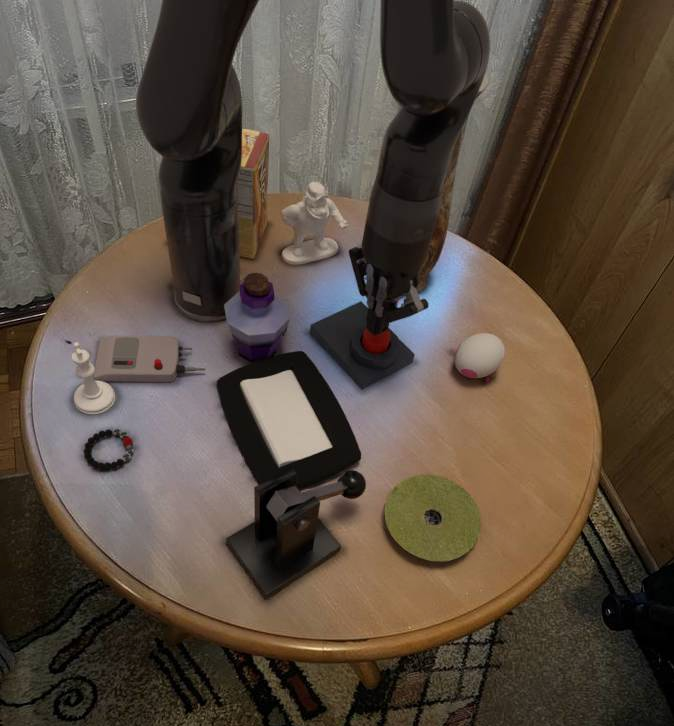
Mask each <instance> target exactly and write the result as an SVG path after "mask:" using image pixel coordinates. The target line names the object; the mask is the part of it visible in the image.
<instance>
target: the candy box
mask: <svg viewBox="0 0 674 726" xmlns="http://www.w3.org/2000/svg"><path fill="white" fill-rule="evenodd" d="M269 159H270V134H269V133H266V132H262V131H258V130H253V129H248V128H242V160H241V168H240V173H239V178H238V184H237V192H238V193H237V196H238V224H239V253H240V257H242V258H245V259H251V260H254V259H255V257H256V254H257V251H258V249H259V247H260V244H261V241H262V240H263V239H262V238H263V236H264V233H265V230H266V228H267V226H268V198H269V197H268V195H269V194H268V193H269V164H270V163H269V161H270V160H269Z"/></svg>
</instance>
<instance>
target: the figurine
mask: <svg viewBox="0 0 674 726" xmlns="http://www.w3.org/2000/svg"><path fill="white" fill-rule="evenodd" d="M329 197H330V195H329V194H328V191H327V190H326V188H325V187H324V185H323V184H322V183H320V182H318V181H311V182H309V184H308V186H307V190H306V191H305V195H303V196H302V199H301V201H299V202H296V204H293V203H292V204H290V205H288V206H287V207H285V208H283V209H282V210H281V212H280V216H281V220H282V222H283V223H284V225H286V226H289V227H291V228H292V230H293V231H292V232H293V234H294V235H293V242H292V244H291V245H288V246H286V247H285V248H284V249H283V250H282V252H281V258H282V260H283V262H285V263H286V264H288V265H294V266H298V265H299V266H300V265H304V264H309V263H312V262H317V261H320V260H324V259H327V258H331V257H333V256H335V255H336V254H337V253H338V250H339V245H338V243H337V242H336V241H335V240H334V239H333V238H329V237H325V236H326V235H325V228H326V225H327V223H328V218H329V217H330V218H331V219H332V221H333V222H334V223H335V224H336V225H338V227H339V228H340V229H341V230H346V229H347V228H348V227H349V224H348V221H347V220H346V219H344V217H343V215H342V214H341V211H340V210H339V209H338V207H337V205H336V204H335V202H334V201H333V200H332V199H330V198H329ZM307 236H313V239H310V240H305V241H304V239H305V237H307Z"/></svg>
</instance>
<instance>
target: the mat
mask: <svg viewBox="0 0 674 726" xmlns="http://www.w3.org/2000/svg"><path fill="white" fill-rule="evenodd" d="M481 517H482V516H481V514H480V510H479V506H478V505H477V503H476V501H475V500H474V498H473V497H472V496H471V494H470V493H469V492H468V491H466V489H465V488H464V487H462V486H461V485H460V484H458V483H457V482H456V481H453V480H451V479H450V478H449V479H448V478H447V477H444V476H440V475H436V474H428V473H427V474H418V475H414V476H410V477H407V478H405V479H403V480H401V481H400V482H399V483H397V484H396V485H395V486H394V487H393V488H392V489H391V491H390V493H389V494H388V496H387V498H386V502H385V507H384V520H385V524H386V527H387V529H388V531H389V533H390V535H391V537H392V538H393V539H394V541H395V542H396V543H397V544H398V545H399V546H401V547H402V549H403V550H405V552H406V551H407V552H408V553H409V554H410V555H411V554H412V555H413V556H415V557H417V558H420V559H423V560H426V561H430V562H449V561H452V560H456V559H459V558H461V557H463V556H464V555H466V554H467V553H468V552H470V551H471V549H473V548H474V546H475V545H476V543H477V542H478V540H479V537H480V533H481V529H482V518H481Z"/></svg>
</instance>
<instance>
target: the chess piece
mask: <svg viewBox="0 0 674 726" xmlns="http://www.w3.org/2000/svg"><path fill="white" fill-rule="evenodd" d="M73 345H74V348H75V351H73V352H72V354H71V360H72V362H73V363H74V364H75V365H76V367H75V374H76V375H77V376H78V377H80V378H82V380H83V384H81V385H80V386H78V388H77V389H76V390H75V392H74V395H73V403H74V406H75V407H76V409H77V410H78V411H80V412H81V413H83V414H86V415H98V414H103V413H105V412H107V411H108V410H110V409H111V408H112V407H113V405H114V404H115V402H116V393H115V389H114V388H113V387H112V386H111V384H109V383H108V382H106V381H95V379H94V371H95V365H93V364H92V363H91V362H90V359H91V355H90V352H89V351H88V350H86V349H81V347H80V344H79V342H78V341H77V342H73Z"/></svg>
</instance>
